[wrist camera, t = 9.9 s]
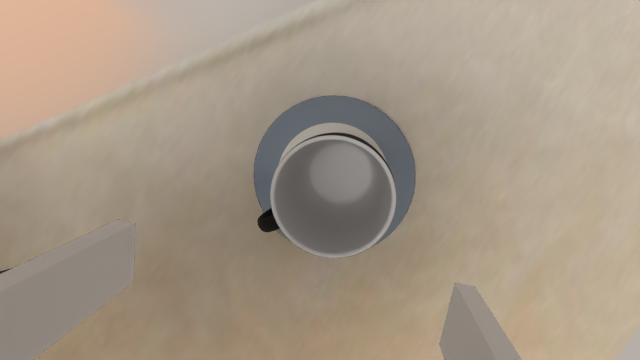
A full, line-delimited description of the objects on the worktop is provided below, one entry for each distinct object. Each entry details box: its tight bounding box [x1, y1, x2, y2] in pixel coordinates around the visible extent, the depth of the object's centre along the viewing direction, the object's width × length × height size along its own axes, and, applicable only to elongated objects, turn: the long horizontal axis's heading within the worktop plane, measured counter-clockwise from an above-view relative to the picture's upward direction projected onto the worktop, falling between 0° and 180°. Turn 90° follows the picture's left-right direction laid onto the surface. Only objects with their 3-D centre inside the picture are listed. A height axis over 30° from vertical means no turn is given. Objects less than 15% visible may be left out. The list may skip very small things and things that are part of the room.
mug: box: [258, 132, 397, 258], centre depth 30 cm, size 12×9×10 cm
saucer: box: [254, 96, 415, 247], centre depth 35 cm, size 16×16×1 cm
